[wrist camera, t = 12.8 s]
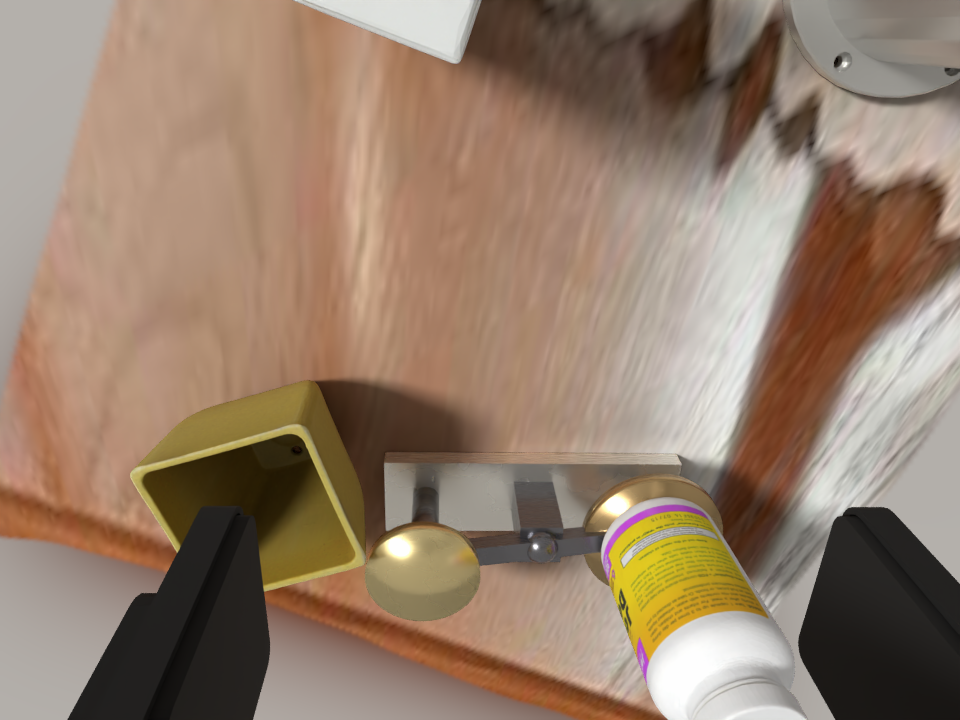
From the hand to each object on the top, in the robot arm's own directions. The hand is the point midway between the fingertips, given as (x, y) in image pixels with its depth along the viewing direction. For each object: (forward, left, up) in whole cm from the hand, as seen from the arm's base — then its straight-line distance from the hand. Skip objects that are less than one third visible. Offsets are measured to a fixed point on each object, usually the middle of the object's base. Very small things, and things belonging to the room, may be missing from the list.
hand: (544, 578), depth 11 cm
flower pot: (+11, +14, -29) cm, 34 cm away
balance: (-4, +18, -28) cm, 34 cm away
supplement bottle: (-11, +18, -23) cm, 31 cm away
